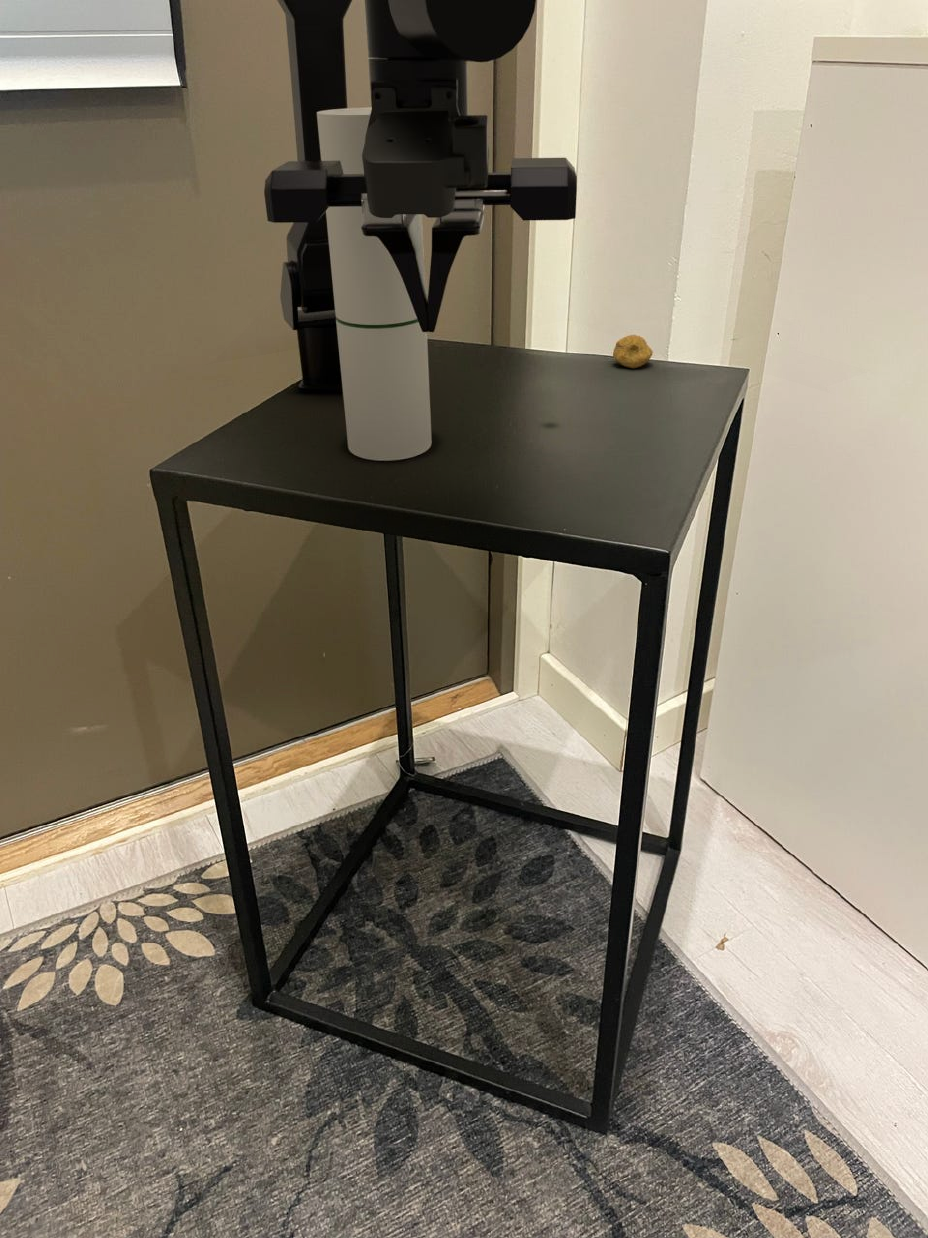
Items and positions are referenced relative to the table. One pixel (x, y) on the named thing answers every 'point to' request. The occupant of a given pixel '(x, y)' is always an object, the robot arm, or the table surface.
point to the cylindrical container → (373, 318)
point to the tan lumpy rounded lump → (632, 351)
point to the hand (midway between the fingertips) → (428, 330)
